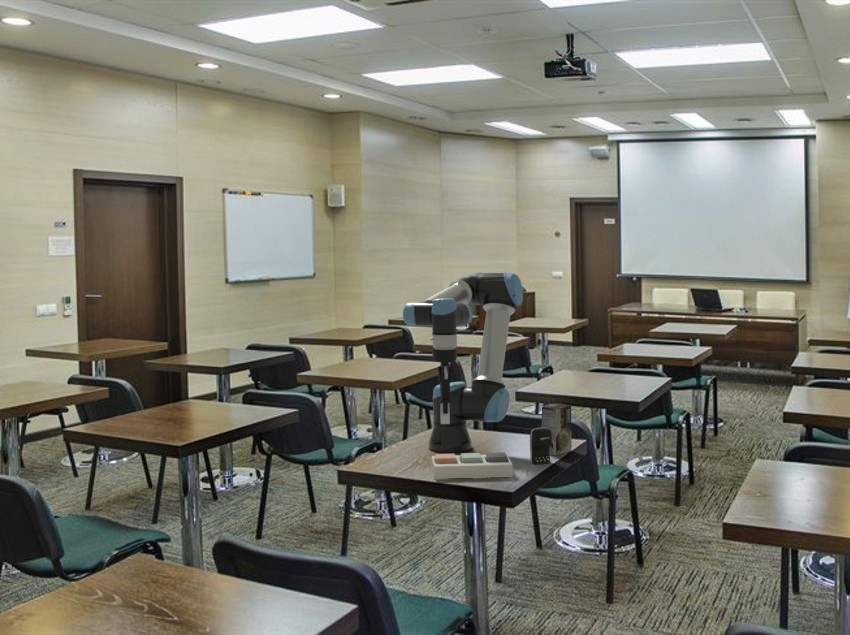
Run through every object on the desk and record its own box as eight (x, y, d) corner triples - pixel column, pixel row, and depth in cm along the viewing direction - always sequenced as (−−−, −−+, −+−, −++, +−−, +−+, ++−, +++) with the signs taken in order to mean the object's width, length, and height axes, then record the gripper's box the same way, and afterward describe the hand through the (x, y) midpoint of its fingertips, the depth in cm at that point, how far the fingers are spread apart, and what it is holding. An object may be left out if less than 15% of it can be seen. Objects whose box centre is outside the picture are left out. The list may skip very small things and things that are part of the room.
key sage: (460, 462, 269) (460, 453, 269) (479, 462, 269) (479, 452, 269) (462, 467, 263) (462, 457, 263) (481, 466, 263) (481, 457, 263)
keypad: (431, 468, 273) (431, 454, 272) (506, 466, 274) (506, 453, 273) (434, 479, 259) (434, 465, 258) (512, 477, 260) (512, 463, 260)
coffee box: (557, 448, 298) (556, 402, 297) (572, 451, 294) (572, 404, 292) (540, 452, 292) (540, 406, 291) (556, 455, 287) (556, 408, 286)
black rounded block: (536, 465, 274) (536, 430, 273) (529, 463, 277) (529, 428, 276) (553, 462, 277) (553, 428, 277) (546, 460, 281) (546, 426, 280)
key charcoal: (486, 462, 269) (486, 452, 269) (504, 461, 270) (504, 452, 269) (488, 466, 263) (488, 457, 263) (507, 466, 264) (507, 456, 263)
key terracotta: (435, 463, 269) (435, 454, 268) (454, 462, 269) (454, 453, 269) (436, 468, 263) (436, 458, 262) (456, 467, 263) (456, 458, 263)
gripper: (431, 346, 269) (431, 420, 271) (433, 350, 256) (434, 427, 258) (454, 346, 270) (455, 419, 271) (458, 350, 257) (458, 427, 258)
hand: (445, 423), depth 265 cm, fingers closed
